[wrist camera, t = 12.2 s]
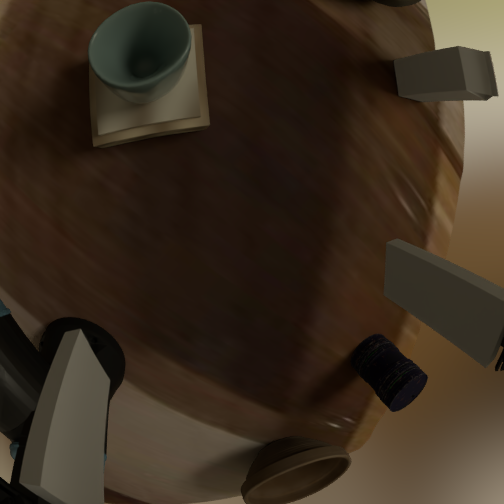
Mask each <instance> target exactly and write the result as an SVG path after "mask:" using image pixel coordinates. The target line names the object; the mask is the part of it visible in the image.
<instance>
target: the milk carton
mask: <svg viewBox="0 0 504 504" xmlns="http://www.w3.org/2000/svg"><path fill="white" fill-rule="evenodd" d="M394 67H395V73H396V80H397V87H398V95H399V96H400V97H404V98H409V99H413V100H417V101H421V102H433V101H458V100H488V99H489V98H491V97H492V96H498V89H497V83H496V78H495V72H494V67H493V63H492V58H491V54H490V52H489V51H486V52H483V51H479V50H475V49H470V48H466V47H461V46H456V47H450V48H445V49H440V50H434V51H430V52H425V53H421V54H416V55H412V56H408V57H404V58H400V59H396V60H394Z"/></svg>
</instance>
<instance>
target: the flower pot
mask: <svg viewBox="0 0 504 504" xmlns="http://www.w3.org/2000/svg"><path fill="white" fill-rule="evenodd" d="M350 464H351V458H350V456H349V454H348V453H347V452H346V450H345V449H344V448H342V447H340V446H332V445H330V444H328V443H325V442H322V441H318V440H314V439H309V438H304V437H300V436H293V437H287V438H284V439H280V440H278V441H275V442H273V443H271V444H269V445H268V446H266V447H265V448H264V449H262V450H261V451H260V453H259V454H258V456H257V458H256V459H255V461H254V462H253V464H252V466H251V468H250V470H249V472H248V474H247V477H246V481H245V482H244V483H243V485H242V487H241V493H242V496H243V499H244V502H245V503H246V504H286V503H290V502H294V501H296V500H300V499H302V498H305V497H307V496H309V495H312V494H314V493H316V492H318V491H320V490H322V489H323V488H325V487H327V486H328V485H330V484H331V483H333V482H334V481H336V480H337V479H338V478H339V477H340V476H342V475H343V474H344V473H345V472H346V471H347V469H348V468H349V466H350Z"/></svg>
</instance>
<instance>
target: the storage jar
mask: <svg viewBox="0 0 504 504" xmlns="http://www.w3.org/2000/svg"><path fill="white" fill-rule="evenodd" d="M351 365H352V367H353V368H354V369H355V370H356V371H357V373H358V374H359V375H360V377H361V378H363V379H364V380H365V382H367V383H369V385H370V386H371V387H372V388H373V389H374V390H375V393H376V394H377V396H378V397H379V398H380V400H381V401H382V402H383V403H384V404H385V405H386V406H387V407H388V408H389V409H390V411H392V412H396V411H399V410H401V409H403V408H404V407H406V406H407V405H409V404H410V403H411V402H412V401H413V400H414V399H415V398H416V397H417V396H418V395H419V394H420V392H421V391H422V390H423V388H424V387H425V385H426V382H427V379H428V377H427V375H426V374H425V373H424V372H423V371H422V370H421V369H420V368H419V367H418V366H417V365H416V364H415V363H413V361H412V360H410V359H407V358H406V357H405V356H404V355H403V354H402V353H401V352H400V351H399V349H398V348H397V347H396V346H395V345H394V344H393V343H392V342H391V341H389V340H388V339H386V338H385V337H384V336H383V335H382V334H374V335H372V336H370V337H368V338H366V339H365V340H364V341H363V342H361V343H360V344H359V346H358V347H357V348H356V349H355V351H354V353H353V355H352V358H351Z"/></svg>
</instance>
